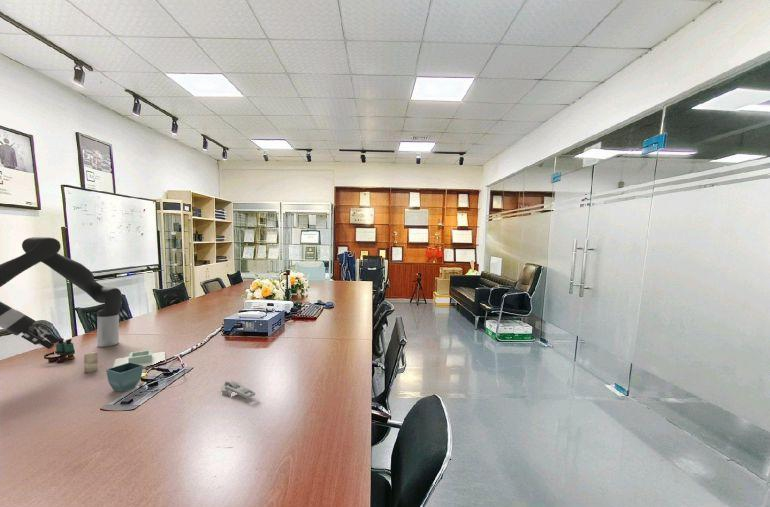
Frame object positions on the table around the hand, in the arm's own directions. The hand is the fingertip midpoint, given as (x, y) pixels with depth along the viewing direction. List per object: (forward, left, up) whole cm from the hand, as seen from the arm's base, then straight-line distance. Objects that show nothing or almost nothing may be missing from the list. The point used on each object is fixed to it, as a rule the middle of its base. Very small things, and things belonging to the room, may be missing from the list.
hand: (54, 344), depth 133 cm
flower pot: (+30, +26, -15) cm, 42 cm away
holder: (0, +30, -15) cm, 33 cm away
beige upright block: (0, +12, -15) cm, 19 cm away
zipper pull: (+61, +63, -15) cm, 89 cm away
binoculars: (-23, -2, -15) cm, 27 cm away
